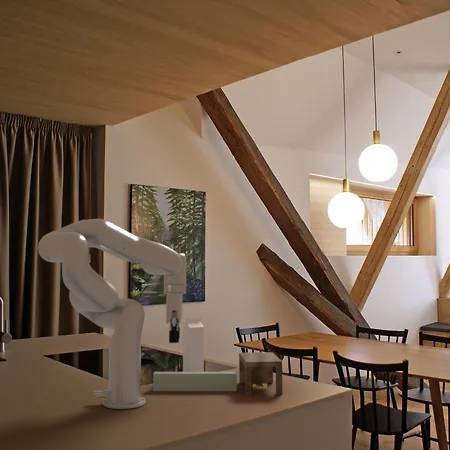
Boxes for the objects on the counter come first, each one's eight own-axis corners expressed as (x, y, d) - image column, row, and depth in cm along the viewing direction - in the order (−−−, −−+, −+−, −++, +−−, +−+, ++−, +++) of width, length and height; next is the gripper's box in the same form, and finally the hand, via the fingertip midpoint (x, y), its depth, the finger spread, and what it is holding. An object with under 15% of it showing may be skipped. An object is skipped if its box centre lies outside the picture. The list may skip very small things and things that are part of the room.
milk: (182, 376, 199) (182, 317, 200) (197, 375, 202) (197, 316, 203) (189, 379, 193) (189, 319, 195) (204, 378, 196) (204, 318, 198)
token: (253, 391, 177) (253, 385, 177) (251, 387, 182) (251, 382, 182) (268, 390, 177) (268, 385, 177) (265, 387, 182) (265, 382, 182)
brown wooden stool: (245, 395, 170) (245, 362, 171) (239, 382, 188) (239, 352, 189) (282, 394, 171) (282, 361, 172) (272, 382, 189) (272, 352, 190)
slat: (153, 391, 176) (153, 373, 177) (154, 389, 179) (154, 371, 180) (236, 391, 176) (236, 373, 176) (236, 389, 179) (236, 371, 179)
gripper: (165, 288, 187) (164, 337, 186) (162, 290, 170) (161, 344, 169) (186, 288, 188) (185, 337, 186) (185, 290, 171) (185, 344, 169)
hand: (174, 340), depth 178 cm, fingers open, 9 cm apart
